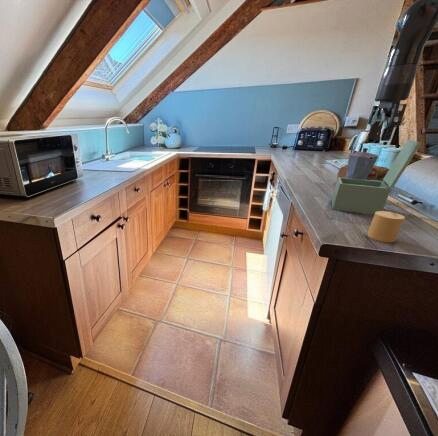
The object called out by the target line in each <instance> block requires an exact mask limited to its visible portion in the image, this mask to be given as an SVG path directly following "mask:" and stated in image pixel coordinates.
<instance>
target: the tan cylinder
mask: <svg viewBox="0 0 438 436" xmlns="http://www.w3.org/2000/svg"><path fill="white" fill-rule="evenodd" d="M405 219H406V217H405V216H404V215H402V214H400V213H397V212H394V211H393V212H392V211H388V210H387V211H385V210H383V211H377V212H375V215H373V217H372V220H371V223H370V225H369V229H368V231H367V234H366V235H367V237H369V238H370V239H372V240H375V241H379V242H383V243H395V242H396V240H397V238H398V236H399V233H400V231H401V228H402V226H403V223H404V221H405Z"/></svg>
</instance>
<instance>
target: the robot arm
mask: <svg viewBox="0 0 438 436" xmlns="http://www.w3.org/2000/svg"><path fill="white" fill-rule="evenodd" d="M437 23H438V0H416V1H414V2H413V3H411V5H409V6H408V7H407V8H405V10H404V11H402V13H400V15H399V17H398V18H397V20H396V24H395V30H396V31H397V32H398V33H399V34H398V37H397V39H396V40H397V41H396V43H395V44H394V45H393V47H392V48H391V50H390V52H389V55H388V58H387V61H386V64H385V68H384V71H383V73H382V75H381V76H380V77H381V78H380V80H379V84H378V88H377V91H376V93H375V98H374V102H380V103H379V104H377V105H372V108H371V112H370V115H369V117H368V121H367V125H369V131H368V134H367V139H371V140H373V139H376V138H377V136H378V133H379V130H380V126H381V125H382V123H383V126H384V127H383V129H382V132H381V136H380V139H379V140H380V141H381V142H388V141H390V140H391V138H392V136H393V132H394V129H396V128H397V127H400V126H401V125H402V122H403V119H404V116H405V112H406V110H407V105H408V104H407V103H401V101H407V100H408V99H409V97H410V93H411V91H412V87H413V85H414V82H415V79H416V76H417V73H418V67H419V64H420V61H421V58H422V55H423V52H424V48H425V46H426V44H427V42H428V40H429V37H430V36H431V34H432V32H433V30H434V29H435V26H436V24H437Z"/></svg>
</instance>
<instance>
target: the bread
mask: <svg viewBox="0 0 438 436" xmlns="http://www.w3.org/2000/svg"><path fill="white" fill-rule="evenodd" d="M347 166H348V164H344V165H343V166H341V167H340V168H339V169H338V171H337V176H336V180H337V179H338V177H340V178H345V177H346V173H347ZM389 169H390V168H388V167H386V166H379V165H374V166H373V168H372V170H371V172H370V174H369V175H368V176H367V178H366V180H375V181H384V180H383V179H384V177H385V176H386V174H387V172H388V171H389ZM384 182H385V181H384ZM385 183H386V182H385ZM386 184H387V183H386ZM387 185H388V184H387Z"/></svg>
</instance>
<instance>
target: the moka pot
mask: <svg viewBox="0 0 438 436" xmlns="http://www.w3.org/2000/svg"><path fill="white" fill-rule="evenodd" d="M368 150H369V148H367V147H364V148H362V151H357V150H356V149H355V150H353V152H350V153H349V154H348V160H347V165H348V166H347V173H346V177H345V178H352V179H363V180H366V178H367V176H368V175H369V174H370V172H371V170H372V168H373V166H375V164H376V162H377V160H378V159H379V156H378V154H375V153H372V152H367V151H368Z"/></svg>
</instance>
